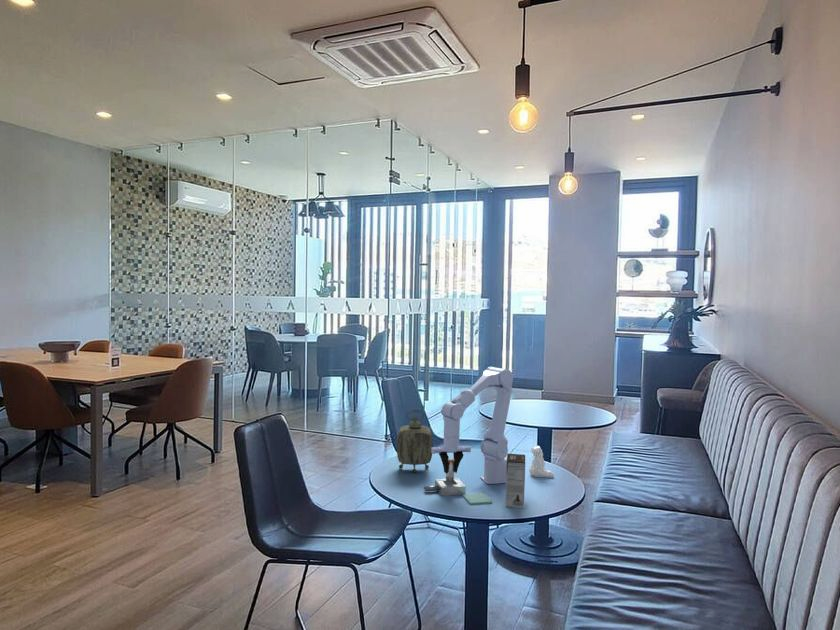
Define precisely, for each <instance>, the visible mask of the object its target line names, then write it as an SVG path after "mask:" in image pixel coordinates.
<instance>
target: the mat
mask: <svg viewBox="0 0 840 630" xmlns="http://www.w3.org/2000/svg"><path fill="white" fill-rule="evenodd" d="M462 497H463V498H464V499H465V500H466V502H467V503H468V504H469V505H470V506H472V505H484V504H485V505H486V504H492V503H493V501H492V499H490V498H489V497H488V496H487V495H486V493H484V492H483V493H466V494H464V495H462Z"/></svg>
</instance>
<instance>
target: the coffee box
mask: <svg viewBox="0 0 840 630" xmlns="http://www.w3.org/2000/svg"><path fill="white" fill-rule="evenodd" d="M506 458H507V468H506V483H505V508H517V509H524V504H525V484H526V481H525V480H526V454H520V453H519V454H518V453H507V456H506Z"/></svg>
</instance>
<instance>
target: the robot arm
mask: <svg viewBox="0 0 840 630" xmlns="http://www.w3.org/2000/svg"><path fill="white" fill-rule="evenodd" d="M514 378H515V377H514V374H513V373H512V372H511V370H510V369H507V368H501V367H496V366H488V367H487V368H486V369H484V370H483V372H482V375H481V376H480V378H478V380H477V381H475V383H474V384H473V385H471V387H470V388H469V389H461V391H460V392H459V393H458V394H457V396H455V397H454V398H452V400H451V401H448V402H445V403H444V404H443V405H442V409H440V413H441V416H442V418H443V421H444V422H443V445H441V446H433V447H431V453H432V455H435V454H438V455H439V458H440V460H441V462H442V466H443V472H444V473H445V474H446V473H447V472H448V459H450V457H449V453H453V459H455V461H454V474H456V473H457V472H458V468H459V465H460V464H461V461H462V459H463V458H464V453H471V450H472V449H471V448H472V447H471V446H470V445H460V425H461V418H463V416H464V413H465V412H466V410H467V409H468V408H469V407H470V406H471V405H472V404H473V403H474V402H475V401H476V396H478V395H479V394H480V393H482V392H483V391H484V390H485V389H486V388H488V387H489V386H492V387H493V388H494V389H495V391H496V398H495V402H494V407H493V413H492V418H491V423H490V429H489V432H487V433H485V434H484V436H483V439H482V441H481V444H480V452H481V453H482V454H483V455H482V456H483V457H484V460H483V463H484V465H483V470H484V471H483V475H481V476H480V479H482V481H483V482H485V484H487V485H494V484H495V485H496V484H506V468H507V454H509V453H508V452H509V449H508V442H509V440H508V439H507V438H506V436H505V430H506V424H507V419H508V414H509V413H508V412H509V408H510V402H511V397H512V393H513V381H514Z"/></svg>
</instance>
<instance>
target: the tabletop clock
mask: <svg viewBox="0 0 840 630" xmlns="http://www.w3.org/2000/svg"><path fill="white" fill-rule="evenodd" d="M413 412H418V413H421V414H422V417H419V418H417V416H414V417H410V416H409V415H410V413H413ZM406 417H407V418H408V419H409V420H410V423H408V425H402V426H400V427H399V429H398V432H397V437H396V438H397V439H396V455H397V460H398V462H399V463H401V464H400V465H399V466H398V468H399V469H403V467H404V466H403V465H411V466H413V469H412V473H413V474H416V473H417V469H416V466H418V465H421V466H422V465H424V469H426V470H428V469H429V468H430V465H428V464H430V462H431V460H432V459H433V458H432V457H433V454H432V453H431V447H434V445H433V444H434V442H433V434H432V430H431V427H429V426H426V425H422V424H421V422H420V420H422V419H423V418H424V417H425V413H424V411H422V410H419V409H412V410H409V411H408V412H407V413H406Z"/></svg>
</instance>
